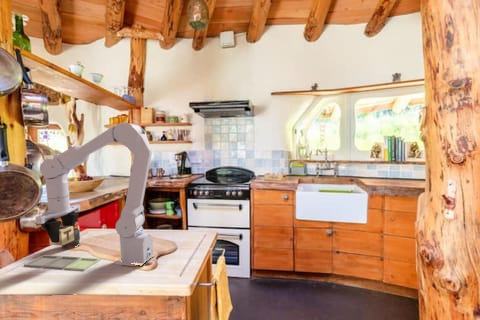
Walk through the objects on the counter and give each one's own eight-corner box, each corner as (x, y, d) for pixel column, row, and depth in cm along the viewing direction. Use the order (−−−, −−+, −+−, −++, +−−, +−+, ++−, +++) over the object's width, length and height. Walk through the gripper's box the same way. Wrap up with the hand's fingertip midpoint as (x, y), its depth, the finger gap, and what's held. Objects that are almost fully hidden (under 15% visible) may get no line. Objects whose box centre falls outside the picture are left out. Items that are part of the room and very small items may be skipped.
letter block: (74, 239, 88) (73, 225, 88) (62, 245, 84) (61, 230, 83) (62, 239, 89) (60, 225, 89) (49, 244, 84) (48, 230, 84)
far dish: (61, 258, 91) (61, 256, 91) (42, 268, 84) (42, 265, 84) (44, 257, 93) (43, 254, 92) (24, 267, 86) (23, 264, 86)
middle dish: (80, 259, 90) (80, 257, 90) (63, 270, 83) (63, 267, 83) (62, 258, 91) (62, 256, 91) (44, 268, 84) (43, 265, 84)
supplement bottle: (84, 244, 103) (82, 215, 103) (73, 250, 98) (70, 219, 97) (69, 244, 104) (67, 215, 103) (58, 250, 98) (55, 219, 97)
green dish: (100, 261, 88) (100, 258, 88) (84, 271, 81) (84, 268, 81) (82, 259, 90) (81, 257, 89) (64, 270, 83) (64, 267, 83)
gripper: (66, 191, 93) (70, 230, 94) (25, 202, 79) (30, 247, 80) (84, 192, 91) (87, 231, 93) (45, 202, 77) (50, 248, 78)
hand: (62, 239), depth 86 cm, fingers closed on letter block, 5 cm apart
